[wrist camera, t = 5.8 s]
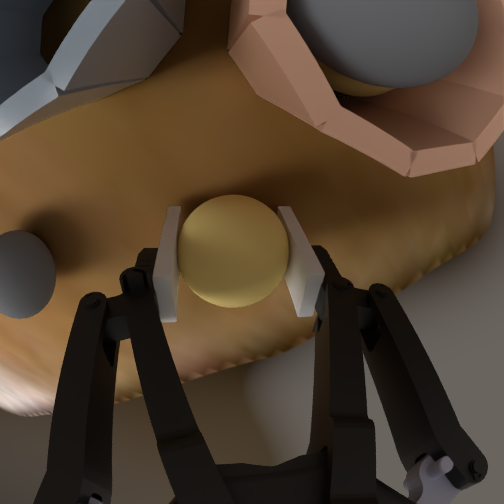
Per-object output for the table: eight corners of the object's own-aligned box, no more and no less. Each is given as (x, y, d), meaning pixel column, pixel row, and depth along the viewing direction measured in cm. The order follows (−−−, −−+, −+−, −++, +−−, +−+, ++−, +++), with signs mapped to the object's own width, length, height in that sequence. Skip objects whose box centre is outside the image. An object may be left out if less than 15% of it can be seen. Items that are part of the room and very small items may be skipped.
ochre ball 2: (266, 78, 14) (331, 100, 9) (278, -21, 10) (351, -42, 6) (355, 91, 16) (428, 121, 11) (368, 6, 12) (448, 13, 8)
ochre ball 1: (183, 263, 20) (177, 331, 15) (179, 178, 16) (165, 231, 11) (272, 262, 21) (290, 328, 16) (283, 179, 17) (312, 231, 12)
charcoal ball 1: (19, 280, 19) (-10, 331, 14) (-3, 217, 16) (-46, 264, 11) (76, 282, 20) (51, 341, 15) (56, 212, 17) (14, 265, 12)
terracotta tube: (223, 110, 15) (237, 162, 7) (236, -48, 9) (267, -150, 1) (378, 127, 16) (496, 194, 8) (394, -12, 11) (518, -29, 3)
